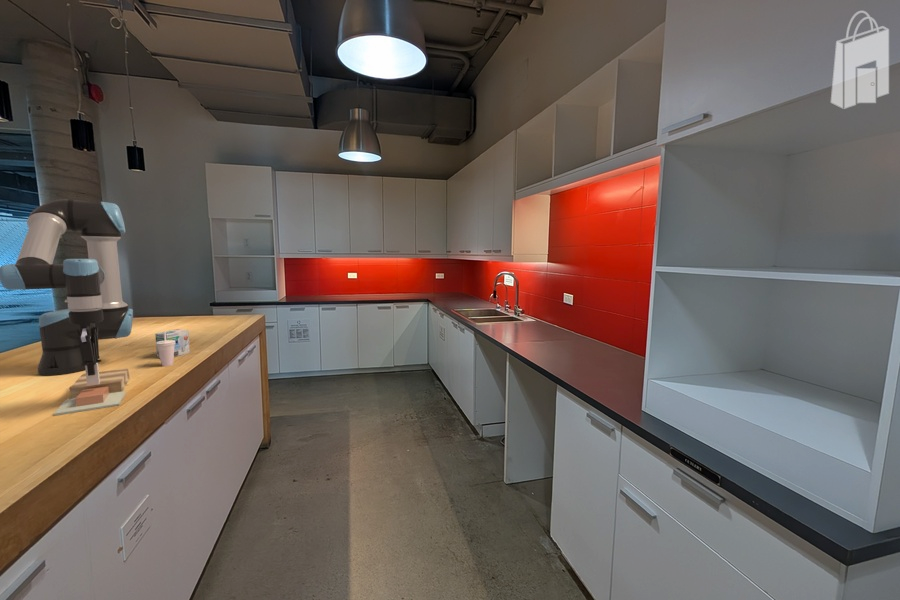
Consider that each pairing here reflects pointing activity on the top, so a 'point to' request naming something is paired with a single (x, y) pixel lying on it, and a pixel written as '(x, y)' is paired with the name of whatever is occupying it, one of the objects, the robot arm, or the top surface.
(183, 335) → the light bulb box
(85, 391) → the tile
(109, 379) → the deck
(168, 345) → the smoothie
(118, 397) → the mat
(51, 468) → the top surface
